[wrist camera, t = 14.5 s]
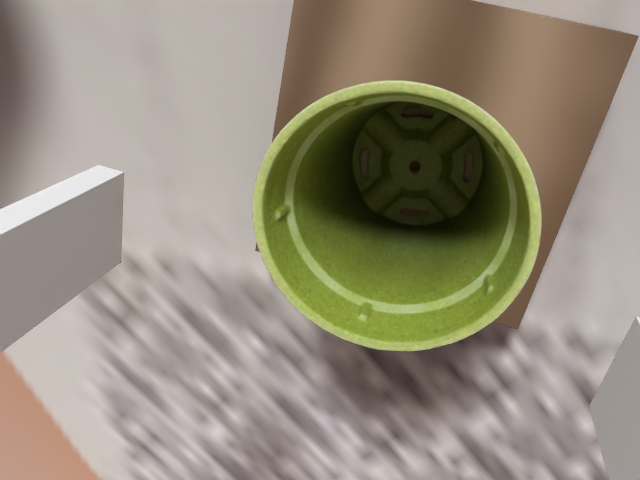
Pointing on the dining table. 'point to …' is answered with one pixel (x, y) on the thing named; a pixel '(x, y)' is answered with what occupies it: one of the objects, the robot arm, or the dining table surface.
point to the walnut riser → (470, 81)
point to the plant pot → (397, 216)
